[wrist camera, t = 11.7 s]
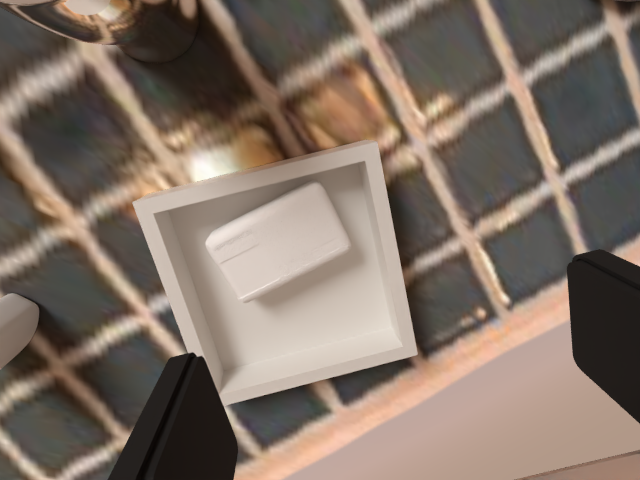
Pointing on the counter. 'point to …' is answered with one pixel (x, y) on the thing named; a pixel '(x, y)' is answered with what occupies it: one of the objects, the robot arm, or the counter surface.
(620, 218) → the counter surface
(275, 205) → the soap
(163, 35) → the beer glass
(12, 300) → the eye dropper bottle
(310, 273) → the box
